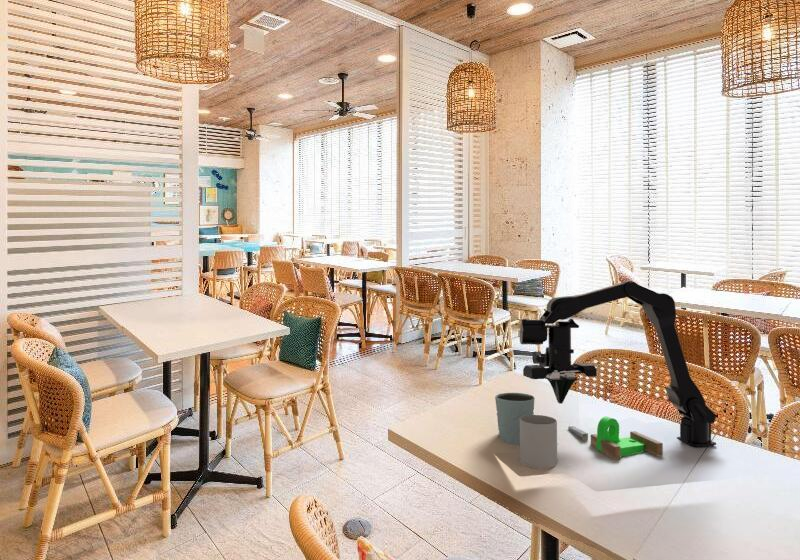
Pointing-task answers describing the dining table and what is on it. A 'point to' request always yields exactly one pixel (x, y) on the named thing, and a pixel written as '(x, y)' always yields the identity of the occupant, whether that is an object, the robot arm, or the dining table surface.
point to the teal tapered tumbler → (512, 414)
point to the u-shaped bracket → (579, 433)
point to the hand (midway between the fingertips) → (560, 403)
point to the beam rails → (615, 450)
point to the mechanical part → (617, 437)
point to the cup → (538, 441)
